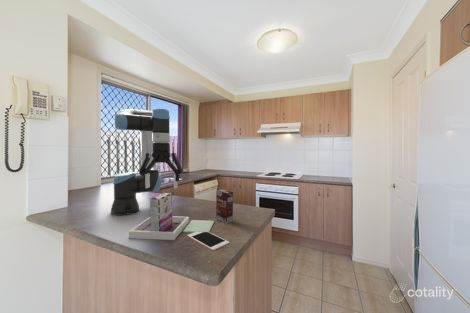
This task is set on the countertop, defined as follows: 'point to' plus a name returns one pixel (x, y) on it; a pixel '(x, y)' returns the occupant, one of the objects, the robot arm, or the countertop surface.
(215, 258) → the countertop surface
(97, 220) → the countertop surface
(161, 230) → the candy bar box
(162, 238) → the tray
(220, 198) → the supplement box
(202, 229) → the mat
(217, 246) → the cell phone
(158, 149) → the robot arm
